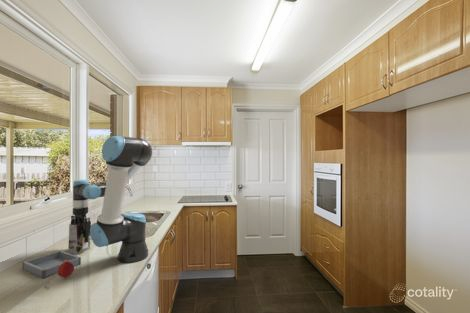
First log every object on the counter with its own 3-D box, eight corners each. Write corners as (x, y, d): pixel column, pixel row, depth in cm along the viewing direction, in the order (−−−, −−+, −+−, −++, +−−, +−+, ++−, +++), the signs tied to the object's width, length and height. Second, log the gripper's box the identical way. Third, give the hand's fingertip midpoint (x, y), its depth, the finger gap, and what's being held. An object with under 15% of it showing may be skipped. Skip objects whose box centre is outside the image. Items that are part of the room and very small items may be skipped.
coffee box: (77, 254, 129) (78, 225, 129) (67, 253, 130) (68, 224, 131) (90, 248, 138) (91, 220, 138) (81, 247, 139) (82, 220, 139)
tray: (80, 264, 117) (80, 257, 117) (42, 278, 103) (43, 270, 103) (60, 257, 125) (60, 250, 125) (22, 269, 111) (22, 262, 111)
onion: (71, 273, 108) (71, 256, 108) (75, 277, 104) (76, 259, 104) (55, 278, 103) (56, 260, 103) (59, 283, 100) (60, 264, 100)
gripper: (99, 207, 133) (98, 247, 133) (76, 203, 143) (75, 241, 142) (85, 210, 126) (84, 252, 126) (62, 206, 136) (61, 245, 136)
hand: (79, 246), depth 134 cm, fingers open, 9 cm apart
